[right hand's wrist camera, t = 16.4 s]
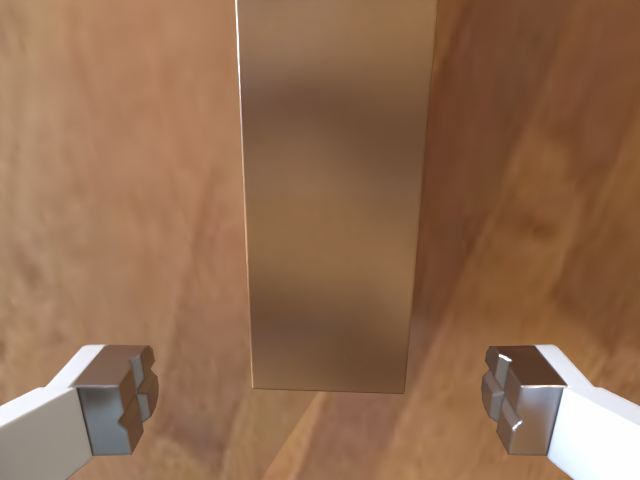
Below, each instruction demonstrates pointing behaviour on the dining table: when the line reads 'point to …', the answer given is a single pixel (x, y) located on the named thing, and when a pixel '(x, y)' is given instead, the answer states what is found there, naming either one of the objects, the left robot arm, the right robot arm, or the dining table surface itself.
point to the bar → (332, 186)
